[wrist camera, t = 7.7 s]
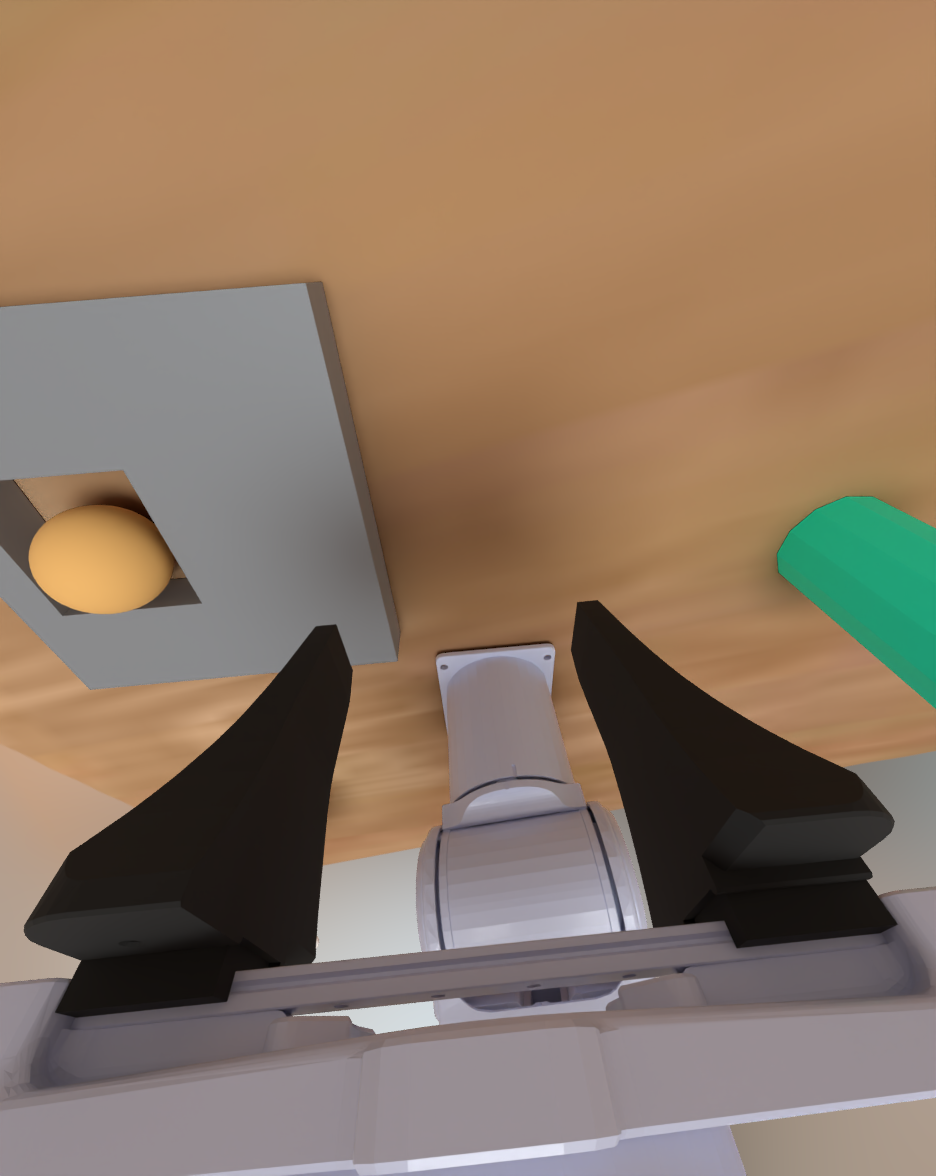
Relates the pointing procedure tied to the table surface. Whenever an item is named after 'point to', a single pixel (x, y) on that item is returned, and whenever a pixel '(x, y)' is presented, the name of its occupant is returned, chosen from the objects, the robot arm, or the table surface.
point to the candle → (872, 581)
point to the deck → (198, 478)
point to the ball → (101, 559)
